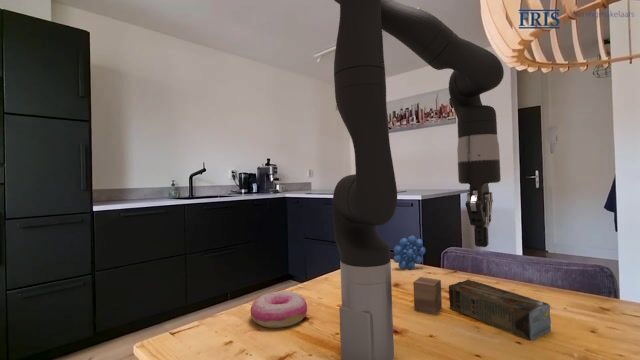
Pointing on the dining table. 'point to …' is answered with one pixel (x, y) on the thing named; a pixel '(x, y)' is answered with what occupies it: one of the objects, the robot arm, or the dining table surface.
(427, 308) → the walnut block
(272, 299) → the donut
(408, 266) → the grapes
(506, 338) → the dining table surface
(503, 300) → the beverage carton
